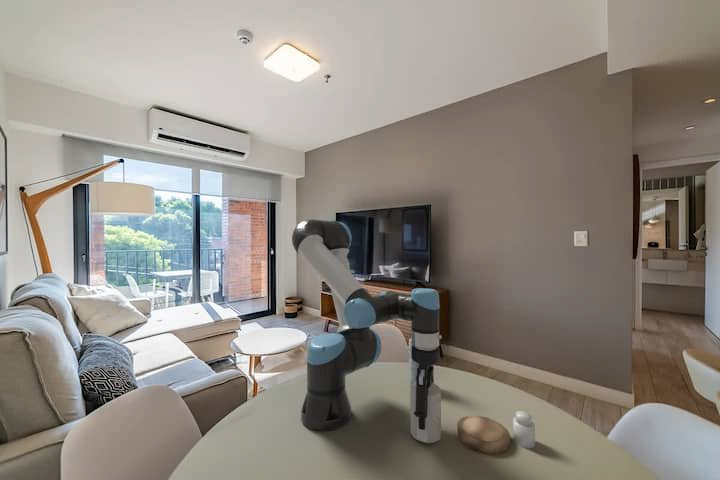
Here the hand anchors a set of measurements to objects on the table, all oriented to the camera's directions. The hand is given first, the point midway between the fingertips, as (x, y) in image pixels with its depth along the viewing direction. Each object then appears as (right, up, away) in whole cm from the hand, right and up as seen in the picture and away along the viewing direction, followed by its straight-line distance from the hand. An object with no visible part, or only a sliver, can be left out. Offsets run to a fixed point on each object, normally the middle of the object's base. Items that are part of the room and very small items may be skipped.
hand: (425, 429), depth 78 cm
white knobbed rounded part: (+25, -1, -3) cm, 25 cm away
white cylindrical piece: (0, -1, 0) cm, 1 cm away
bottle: (+4, -3, +29) cm, 29 cm away
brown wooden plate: (+15, -1, -1) cm, 15 cm away
